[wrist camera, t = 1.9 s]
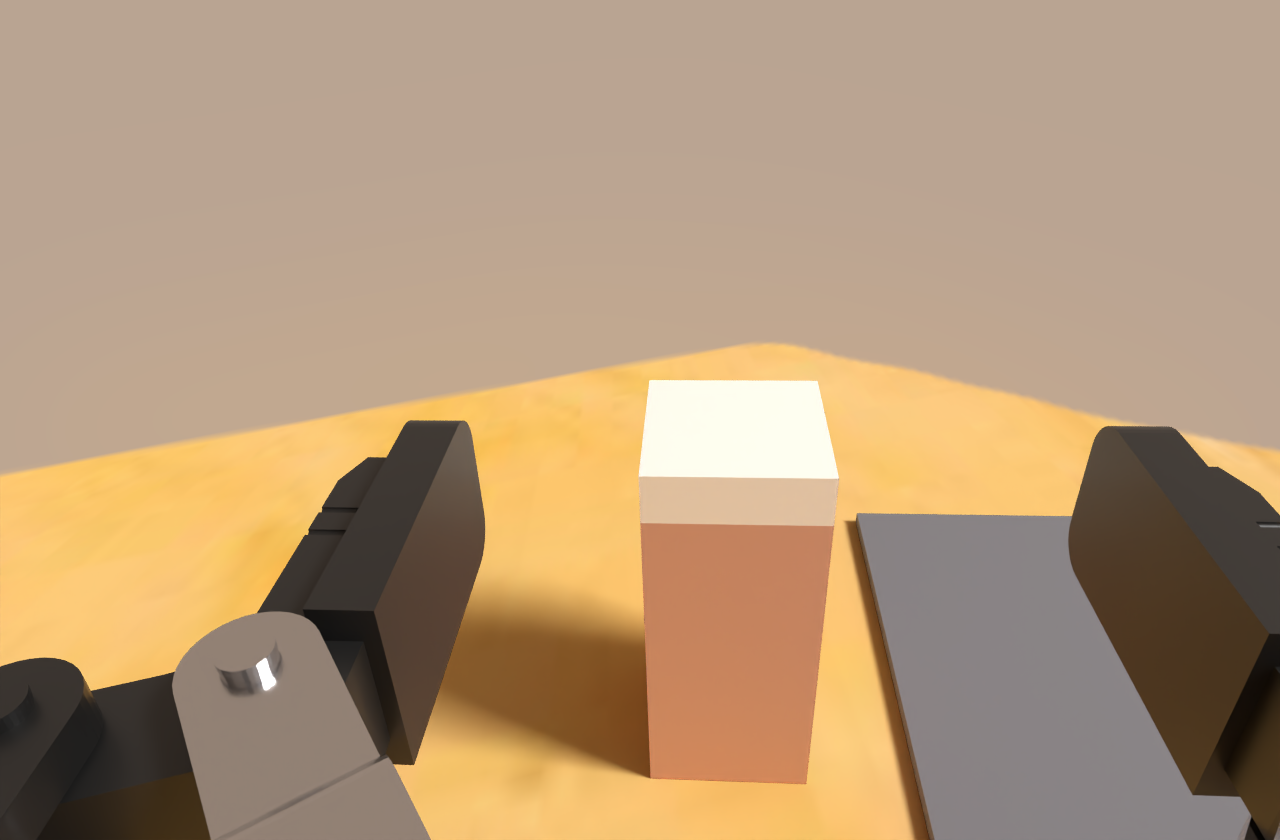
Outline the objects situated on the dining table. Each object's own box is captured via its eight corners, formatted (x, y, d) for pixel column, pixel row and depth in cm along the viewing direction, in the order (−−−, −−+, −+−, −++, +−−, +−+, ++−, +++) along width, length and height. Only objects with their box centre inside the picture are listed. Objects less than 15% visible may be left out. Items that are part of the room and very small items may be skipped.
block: (650, 778, 28) (638, 476, 22) (657, 661, 33) (649, 380, 26) (806, 784, 28) (839, 478, 22) (792, 665, 32) (817, 381, 26)
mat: (951, 931, 24) (954, 921, 24) (855, 522, 39) (856, 513, 39) (1496, 957, 23) (1505, 947, 23) (1180, 526, 38) (1184, 518, 38)
